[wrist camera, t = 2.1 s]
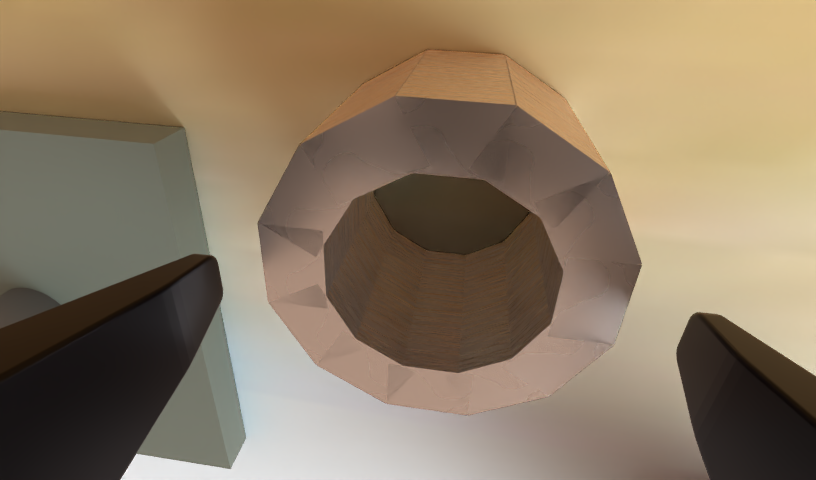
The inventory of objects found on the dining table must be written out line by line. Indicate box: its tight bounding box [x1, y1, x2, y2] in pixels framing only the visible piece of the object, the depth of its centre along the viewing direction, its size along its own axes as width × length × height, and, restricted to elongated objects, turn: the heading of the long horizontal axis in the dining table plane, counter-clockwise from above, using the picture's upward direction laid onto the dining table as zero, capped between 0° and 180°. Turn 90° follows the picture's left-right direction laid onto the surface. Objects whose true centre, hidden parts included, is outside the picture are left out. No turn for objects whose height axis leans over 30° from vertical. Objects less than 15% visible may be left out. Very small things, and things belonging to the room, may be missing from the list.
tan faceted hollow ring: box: [258, 49, 642, 415], centre depth 11 cm, size 7×7×5 cm
